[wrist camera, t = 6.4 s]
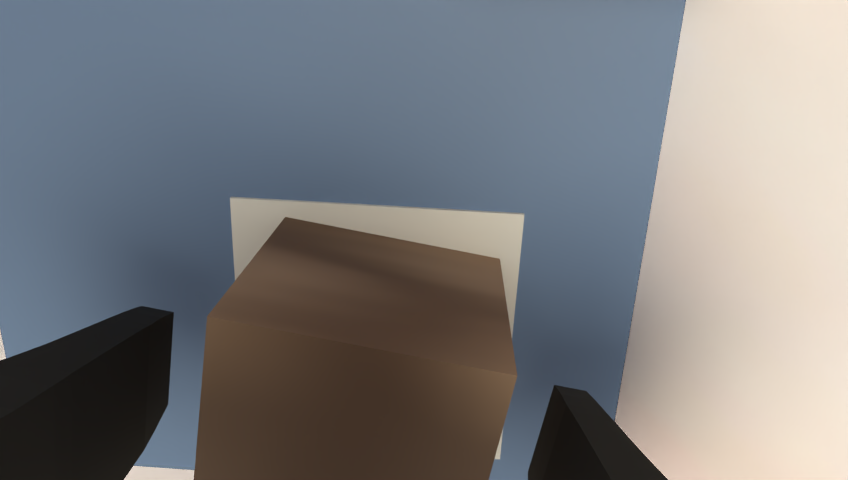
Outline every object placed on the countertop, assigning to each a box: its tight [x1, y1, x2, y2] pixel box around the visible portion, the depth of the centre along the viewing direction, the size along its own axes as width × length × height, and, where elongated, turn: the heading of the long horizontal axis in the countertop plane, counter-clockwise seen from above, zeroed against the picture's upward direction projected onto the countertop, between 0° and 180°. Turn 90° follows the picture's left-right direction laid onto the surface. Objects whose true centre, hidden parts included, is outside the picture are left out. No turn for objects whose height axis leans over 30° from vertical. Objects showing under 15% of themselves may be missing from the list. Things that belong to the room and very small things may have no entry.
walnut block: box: [194, 217, 517, 480], centre depth 12 cm, size 4×4×4 cm
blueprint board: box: [0, 0, 686, 480], centre depth 13 cm, size 18×14×1 cm
